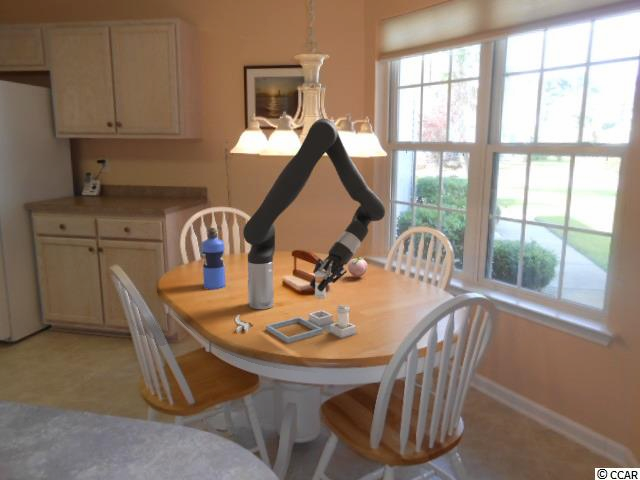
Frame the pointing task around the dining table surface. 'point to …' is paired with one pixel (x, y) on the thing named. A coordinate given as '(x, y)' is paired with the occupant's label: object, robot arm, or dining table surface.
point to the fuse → (343, 316)
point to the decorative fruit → (357, 267)
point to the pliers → (242, 325)
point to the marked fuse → (318, 278)
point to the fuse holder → (331, 324)
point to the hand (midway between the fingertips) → (315, 288)
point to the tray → (315, 331)
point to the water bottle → (213, 261)
